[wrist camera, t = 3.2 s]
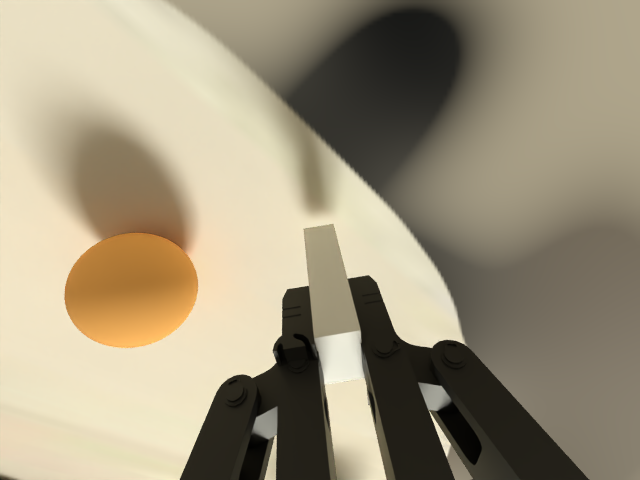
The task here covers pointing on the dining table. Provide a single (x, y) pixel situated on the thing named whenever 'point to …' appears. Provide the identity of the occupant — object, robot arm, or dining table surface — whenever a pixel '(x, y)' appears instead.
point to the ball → (131, 290)
